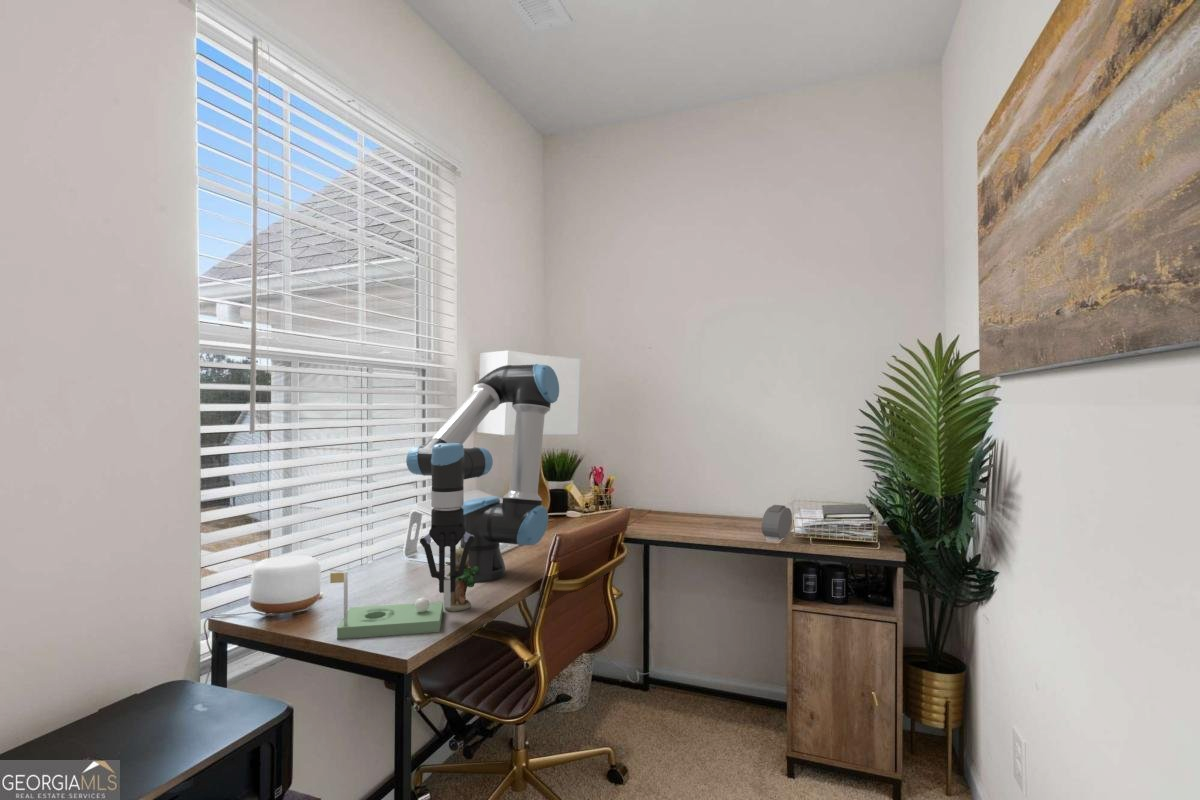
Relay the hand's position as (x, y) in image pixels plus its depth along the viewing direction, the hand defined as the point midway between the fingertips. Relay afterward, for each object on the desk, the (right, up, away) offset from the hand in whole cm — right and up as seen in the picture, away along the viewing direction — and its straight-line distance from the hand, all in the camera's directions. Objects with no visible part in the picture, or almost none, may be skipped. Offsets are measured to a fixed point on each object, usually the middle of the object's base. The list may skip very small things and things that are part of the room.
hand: (447, 605), depth 143 cm
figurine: (+1, -4, +9) cm, 10 cm away
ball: (-6, 0, -1) cm, 6 cm away
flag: (-22, -1, -10) cm, 24 cm away
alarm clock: (+105, -4, +85) cm, 135 cm away
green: (-12, -4, -2) cm, 13 cm away
